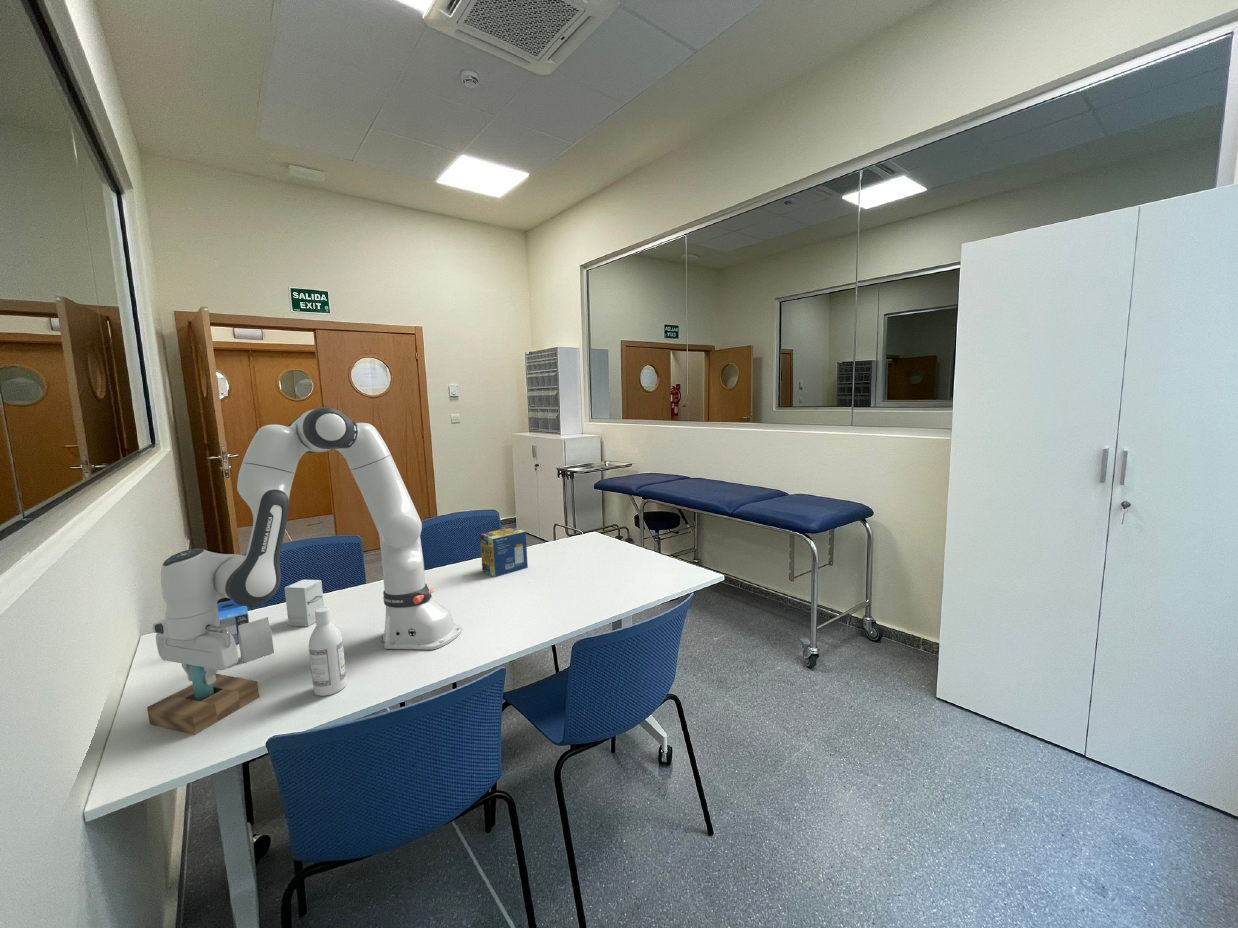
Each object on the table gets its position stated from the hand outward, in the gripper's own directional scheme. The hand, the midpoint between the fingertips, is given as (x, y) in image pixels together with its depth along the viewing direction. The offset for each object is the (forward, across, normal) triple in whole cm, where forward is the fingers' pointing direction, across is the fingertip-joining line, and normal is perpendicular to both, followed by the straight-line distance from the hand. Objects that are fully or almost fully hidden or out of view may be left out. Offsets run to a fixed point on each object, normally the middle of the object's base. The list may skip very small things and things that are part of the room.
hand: (202, 681), depth 114 cm
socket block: (+7, 0, 0) cm, 7 cm away
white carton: (+7, +13, -22) cm, 26 cm away
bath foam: (+7, -21, -14) cm, 26 cm away
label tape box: (+7, +28, -26) cm, 39 cm away
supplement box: (+7, +19, -43) cm, 47 cm away
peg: (+6, 0, 0) cm, 6 cm away
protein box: (+7, -19, -101) cm, 103 cm away
